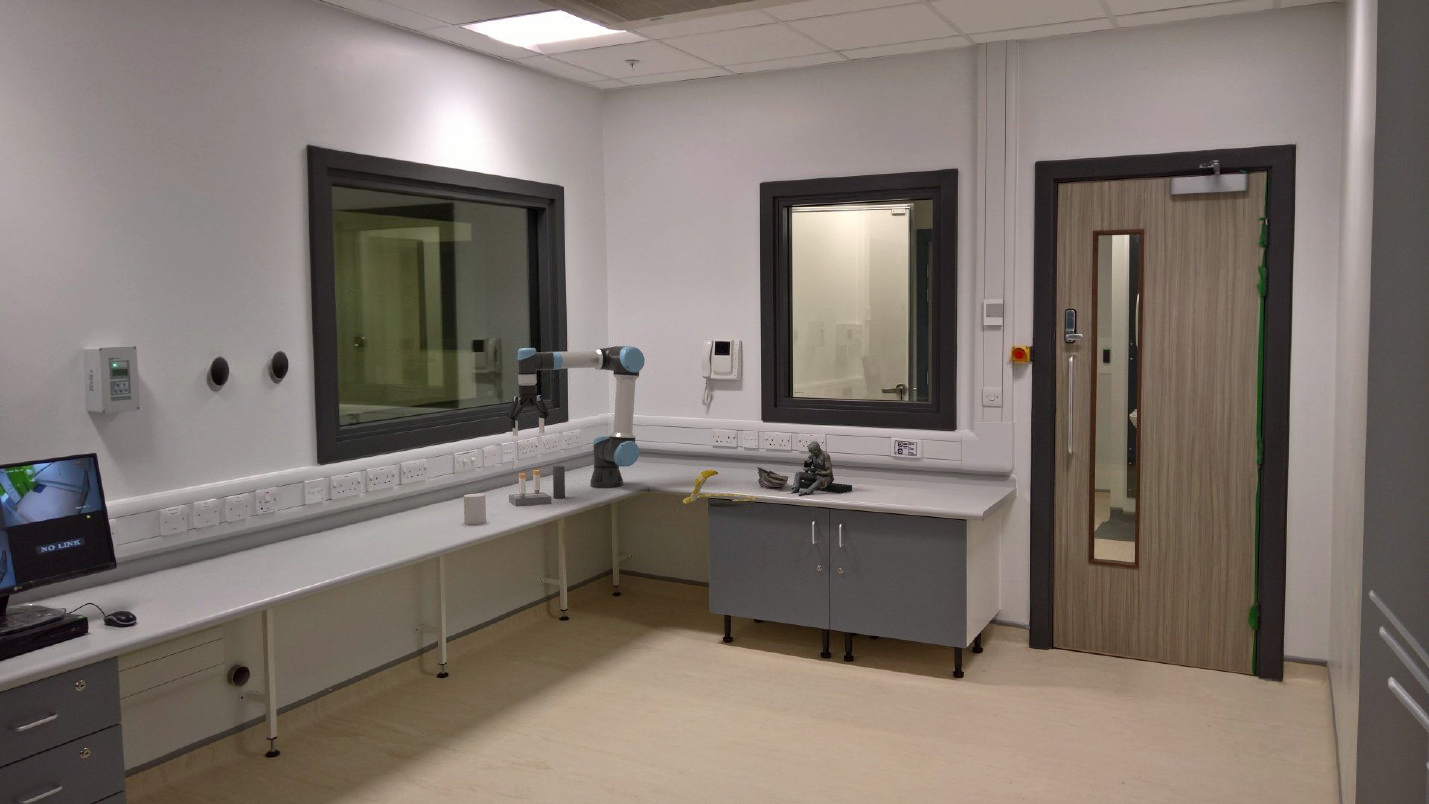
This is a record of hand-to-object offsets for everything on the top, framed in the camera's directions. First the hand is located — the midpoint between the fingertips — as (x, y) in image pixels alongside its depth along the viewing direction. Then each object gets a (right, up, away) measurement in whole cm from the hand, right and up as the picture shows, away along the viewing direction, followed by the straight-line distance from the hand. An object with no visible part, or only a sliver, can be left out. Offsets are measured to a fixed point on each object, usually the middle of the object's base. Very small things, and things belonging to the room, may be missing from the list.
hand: (528, 434), depth 426 cm
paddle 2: (+3, -24, +4) cm, 25 cm away
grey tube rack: (+1, -29, -1) cm, 29 cm away
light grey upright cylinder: (-13, -34, -39) cm, 53 cm away
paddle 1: (-1, -25, -7) cm, 26 cm away
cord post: (+12, -28, +9) cm, 32 cm away
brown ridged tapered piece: (+98, -19, +16) cm, 101 cm away
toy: (+80, -29, -4) cm, 85 cm away
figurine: (+122, -27, +12) cm, 125 cm away
